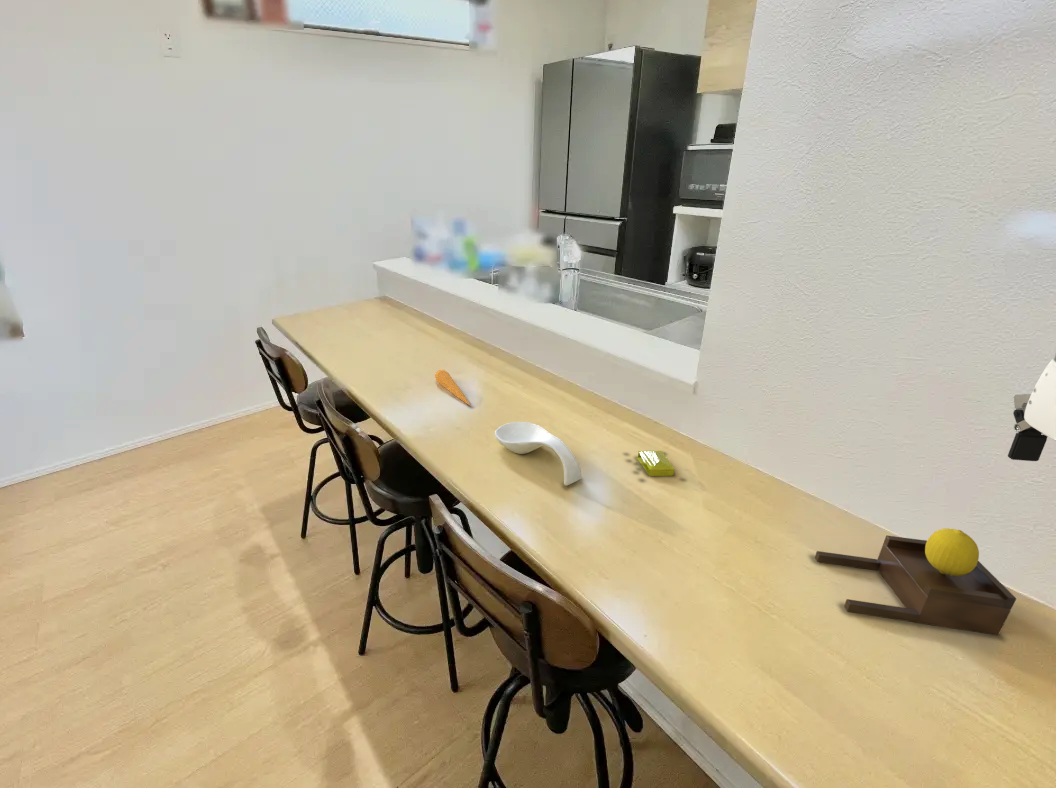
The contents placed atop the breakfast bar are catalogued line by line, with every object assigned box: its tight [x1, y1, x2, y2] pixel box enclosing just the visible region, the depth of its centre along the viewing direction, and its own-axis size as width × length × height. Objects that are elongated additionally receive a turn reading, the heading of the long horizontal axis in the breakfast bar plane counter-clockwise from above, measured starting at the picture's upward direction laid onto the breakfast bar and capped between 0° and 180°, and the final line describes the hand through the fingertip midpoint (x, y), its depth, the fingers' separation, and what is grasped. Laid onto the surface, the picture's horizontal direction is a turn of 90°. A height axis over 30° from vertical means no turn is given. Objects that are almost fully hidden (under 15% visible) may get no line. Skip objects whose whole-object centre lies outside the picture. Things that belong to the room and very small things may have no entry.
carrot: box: [434, 368, 471, 406], centre depth 145 cm, size 20×4×4 cm, turn 28°
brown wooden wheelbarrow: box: [814, 535, 1017, 636], centre depth 76 cm, size 19×11×7 cm, turn 77°
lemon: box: [925, 527, 980, 576], centre depth 73 cm, size 6×6×8 cm
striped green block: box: [629, 450, 680, 477], centre depth 109 cm, size 10×9×3 cm
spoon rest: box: [494, 421, 582, 486], centre depth 112 cm, size 24×12×7 cm, turn 34°
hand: (1052, 479), depth 65 cm, fingers open, 9 cm apart
